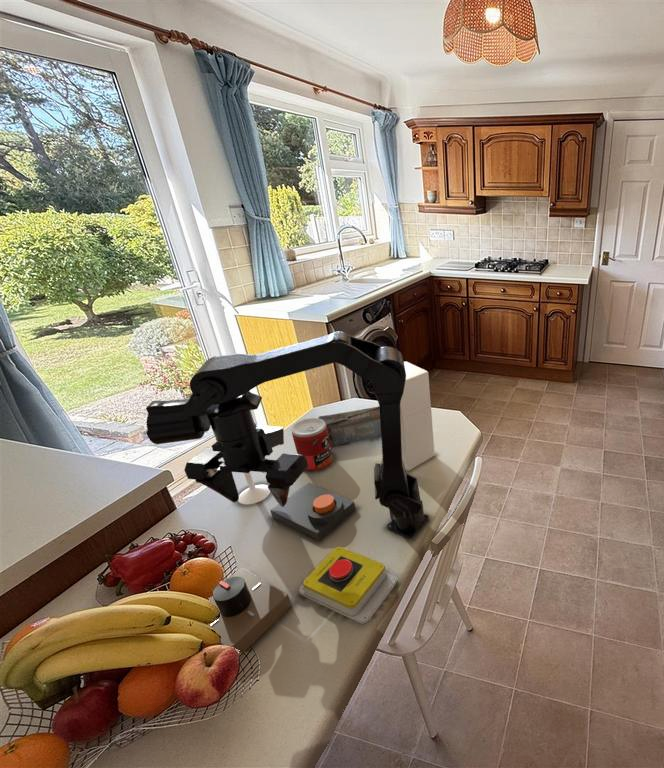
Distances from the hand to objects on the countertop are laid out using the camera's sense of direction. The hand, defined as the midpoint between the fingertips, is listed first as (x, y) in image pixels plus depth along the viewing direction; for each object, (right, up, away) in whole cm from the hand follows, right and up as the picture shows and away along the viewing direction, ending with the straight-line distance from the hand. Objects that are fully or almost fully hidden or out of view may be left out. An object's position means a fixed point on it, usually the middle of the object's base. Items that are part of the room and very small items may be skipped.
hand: (260, 502), depth 74 cm
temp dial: (+1, -15, -8) cm, 16 cm away
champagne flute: (-13, -4, +19) cm, 24 cm away
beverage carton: (+2, +7, +42) cm, 42 cm away
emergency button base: (+3, -7, +15) cm, 16 cm away
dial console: (+1, -17, -6) cm, 18 cm away
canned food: (-4, +1, +30) cm, 31 cm away
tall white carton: (+19, +2, +33) cm, 39 cm away
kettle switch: (+7, -4, +11) cm, 14 cm away
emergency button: (+17, -15, -1) cm, 23 cm away
